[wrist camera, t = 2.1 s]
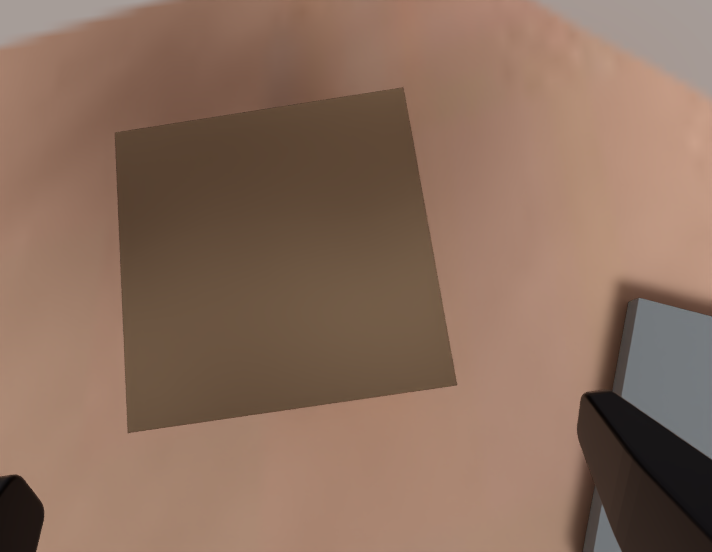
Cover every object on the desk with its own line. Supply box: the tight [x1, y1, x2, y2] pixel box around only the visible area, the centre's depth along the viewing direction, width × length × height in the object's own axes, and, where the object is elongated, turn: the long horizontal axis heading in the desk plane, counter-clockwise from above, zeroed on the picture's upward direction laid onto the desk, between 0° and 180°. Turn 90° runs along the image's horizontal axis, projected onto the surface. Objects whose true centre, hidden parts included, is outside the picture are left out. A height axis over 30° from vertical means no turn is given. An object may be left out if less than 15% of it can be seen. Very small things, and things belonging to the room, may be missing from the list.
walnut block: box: [115, 88, 457, 433], centre depth 14 cm, size 5×5×11 cm
